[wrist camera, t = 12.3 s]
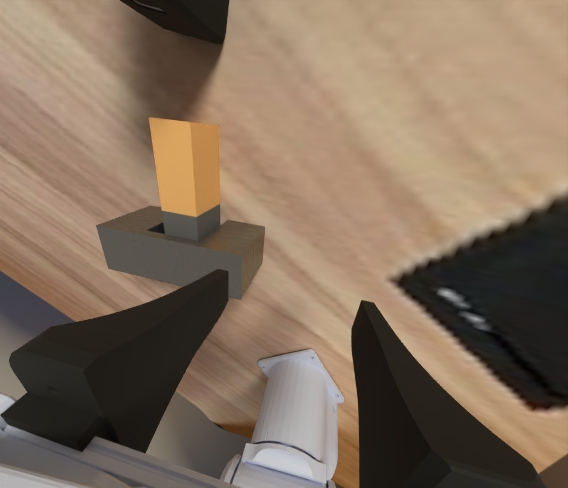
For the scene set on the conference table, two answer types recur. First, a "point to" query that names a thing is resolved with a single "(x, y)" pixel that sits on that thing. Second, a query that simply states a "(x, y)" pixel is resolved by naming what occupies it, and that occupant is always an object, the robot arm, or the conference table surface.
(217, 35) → the electronic device
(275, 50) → the conference table surface
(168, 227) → the orange and grey bar
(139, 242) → the grey rectangular block
